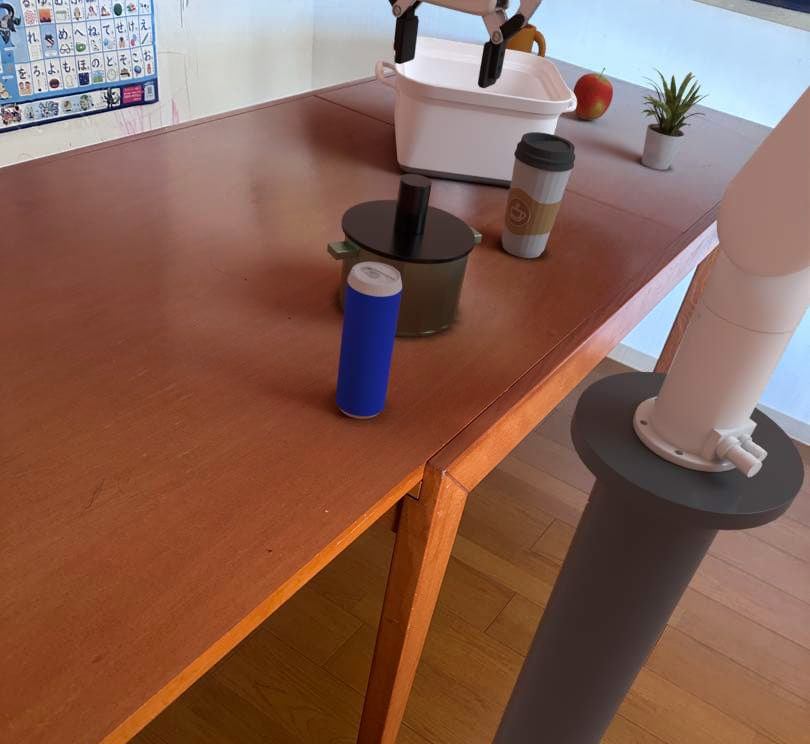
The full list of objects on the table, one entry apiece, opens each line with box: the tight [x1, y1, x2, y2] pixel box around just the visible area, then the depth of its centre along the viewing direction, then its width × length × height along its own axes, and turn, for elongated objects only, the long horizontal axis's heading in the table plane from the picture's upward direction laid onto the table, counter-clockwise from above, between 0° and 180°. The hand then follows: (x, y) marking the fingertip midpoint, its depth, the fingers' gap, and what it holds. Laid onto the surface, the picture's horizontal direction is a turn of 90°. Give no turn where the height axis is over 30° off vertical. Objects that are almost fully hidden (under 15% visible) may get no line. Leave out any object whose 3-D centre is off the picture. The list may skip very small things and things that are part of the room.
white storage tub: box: [374, 35, 577, 188], centre depth 139 cm, size 34×29×15 cm
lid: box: [340, 173, 476, 264], centre depth 94 cm, size 16×16×7 cm
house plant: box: [641, 67, 709, 171], centre depth 152 cm, size 14×14×16 cm
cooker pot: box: [326, 226, 483, 338], centre depth 99 cm, size 15×20×10 cm
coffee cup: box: [501, 132, 576, 259], centre depth 115 cm, size 8×8×15 cm
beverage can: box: [335, 262, 402, 420], centre depth 80 cm, size 5×5×15 cm
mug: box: [506, 22, 547, 58], centre depth 190 cm, size 9×12×9 cm
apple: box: [572, 67, 614, 121], centre depth 168 cm, size 8×8×10 cm
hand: (444, 73), depth 84 cm, fingers open, 9 cm apart
